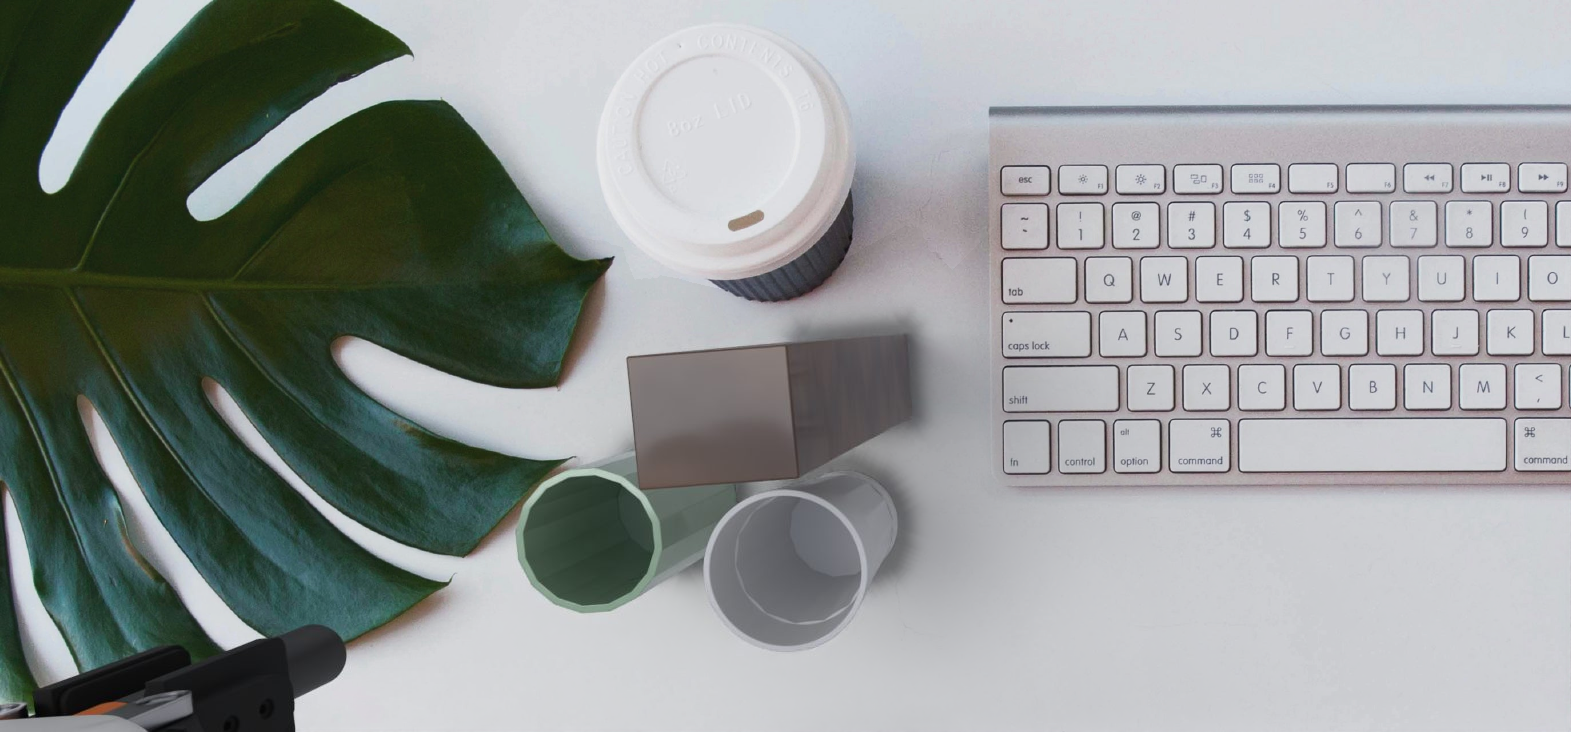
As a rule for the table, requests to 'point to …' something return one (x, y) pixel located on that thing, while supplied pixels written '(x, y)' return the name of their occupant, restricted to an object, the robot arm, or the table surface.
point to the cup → (799, 559)
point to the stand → (763, 408)
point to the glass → (613, 533)
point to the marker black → (310, 663)
